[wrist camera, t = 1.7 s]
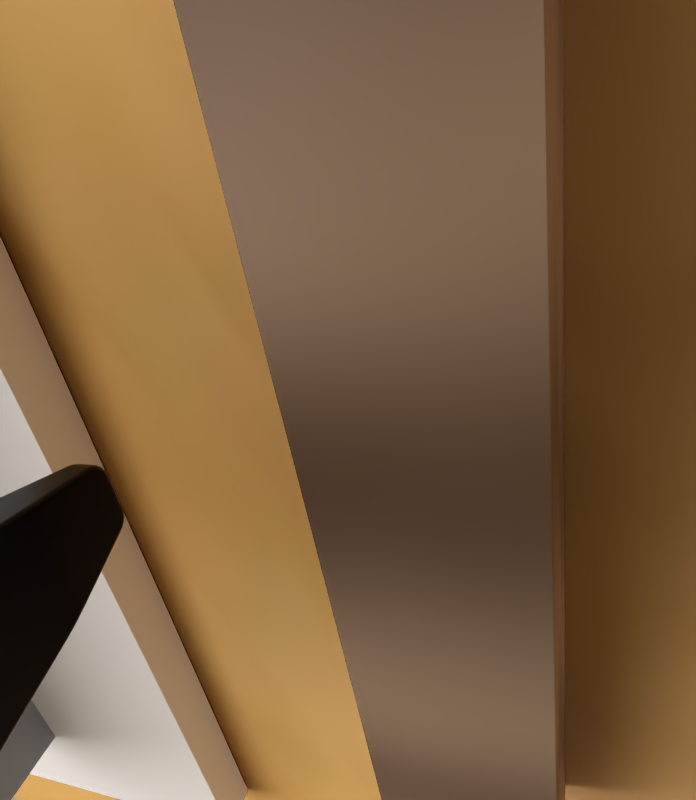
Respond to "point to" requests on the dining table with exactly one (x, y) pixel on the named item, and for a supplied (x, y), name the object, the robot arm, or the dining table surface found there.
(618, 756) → the dining table surface
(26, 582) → the robot arm
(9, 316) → the ridge
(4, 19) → the dining table surface
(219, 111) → the walnut bar
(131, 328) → the dining table surface
